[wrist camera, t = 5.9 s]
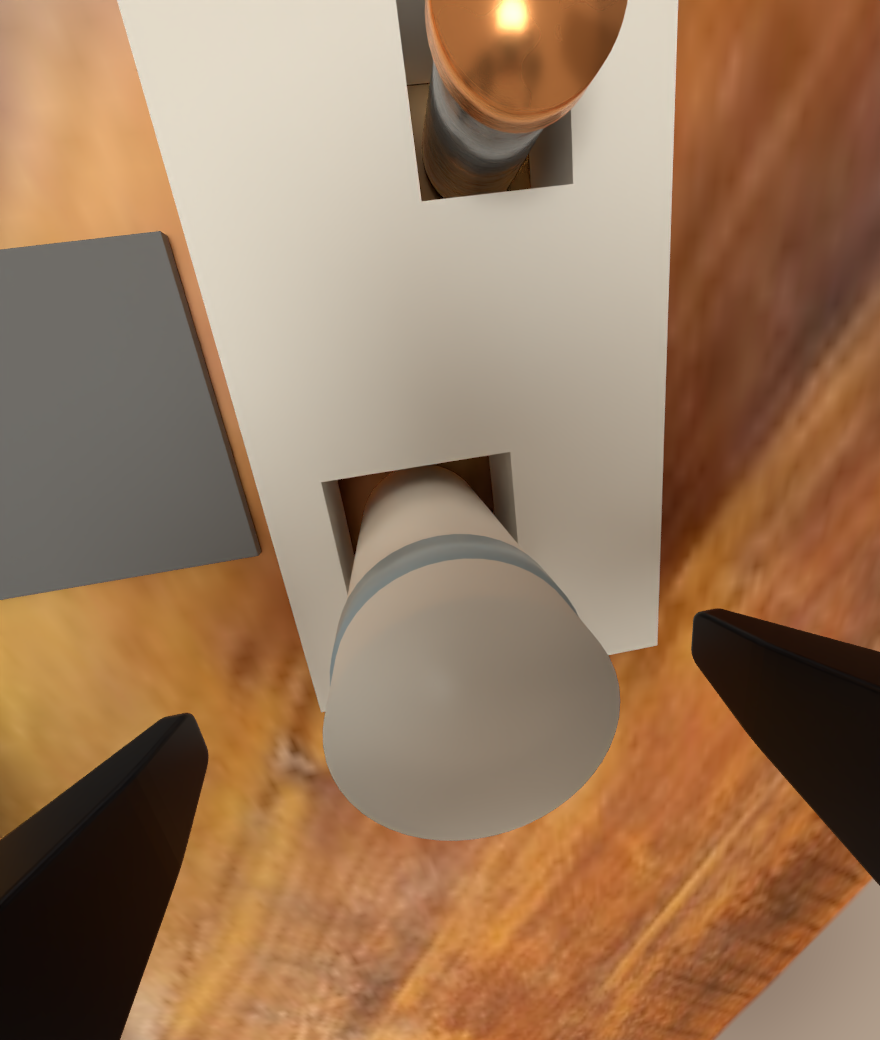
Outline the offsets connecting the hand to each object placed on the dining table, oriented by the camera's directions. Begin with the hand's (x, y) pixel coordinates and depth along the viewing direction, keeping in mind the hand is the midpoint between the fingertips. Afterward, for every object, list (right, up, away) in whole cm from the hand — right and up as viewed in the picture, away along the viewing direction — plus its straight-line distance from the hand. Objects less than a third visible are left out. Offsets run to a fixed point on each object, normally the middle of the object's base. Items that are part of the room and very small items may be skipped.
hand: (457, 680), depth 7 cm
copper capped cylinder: (+1, +13, +4) cm, 14 cm away
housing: (0, +8, +7) cm, 10 cm away
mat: (-12, +6, +6) cm, 15 cm away
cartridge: (-1, +3, +8) cm, 9 cm away
